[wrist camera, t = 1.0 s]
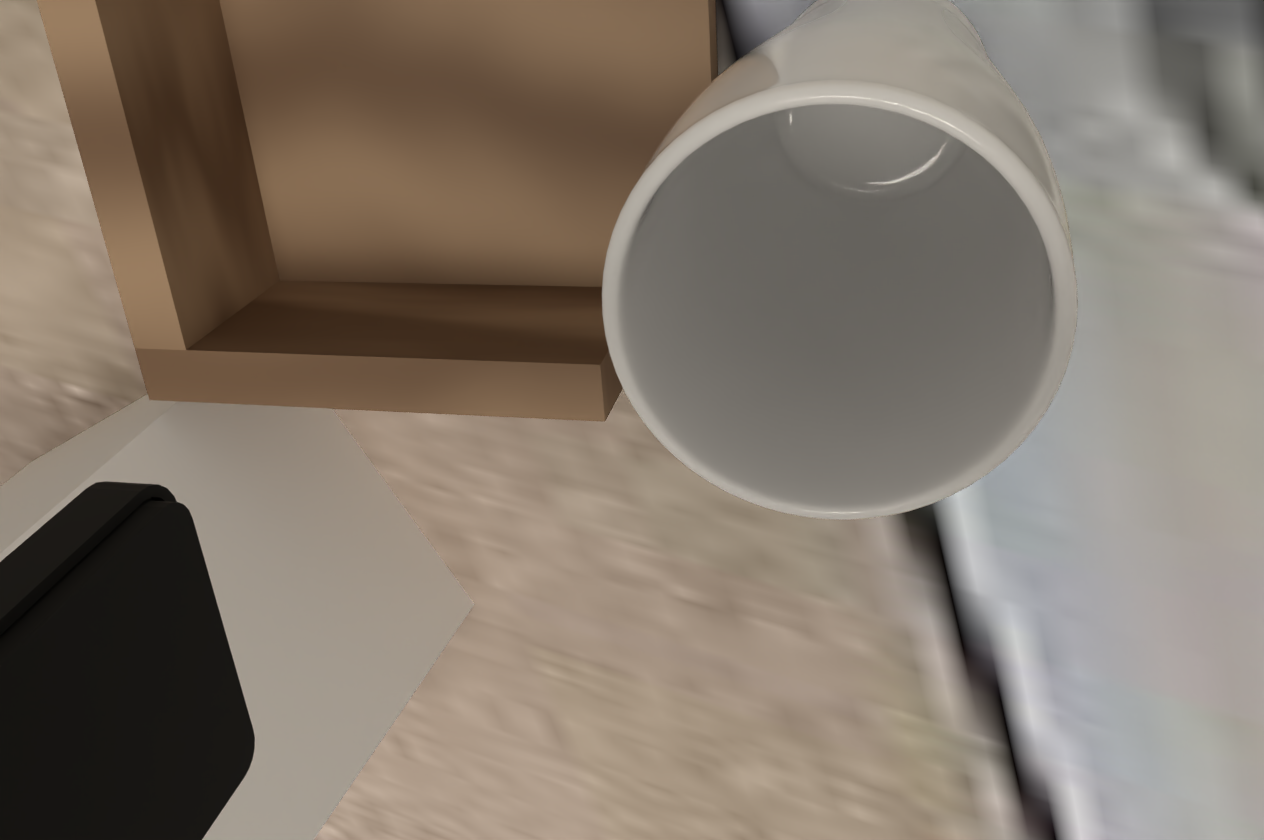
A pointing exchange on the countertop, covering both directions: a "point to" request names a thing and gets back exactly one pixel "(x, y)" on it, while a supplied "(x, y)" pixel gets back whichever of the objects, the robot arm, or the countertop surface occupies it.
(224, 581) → the milk
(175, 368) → the wooden open tray
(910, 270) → the drinking glass
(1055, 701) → the countertop surface
